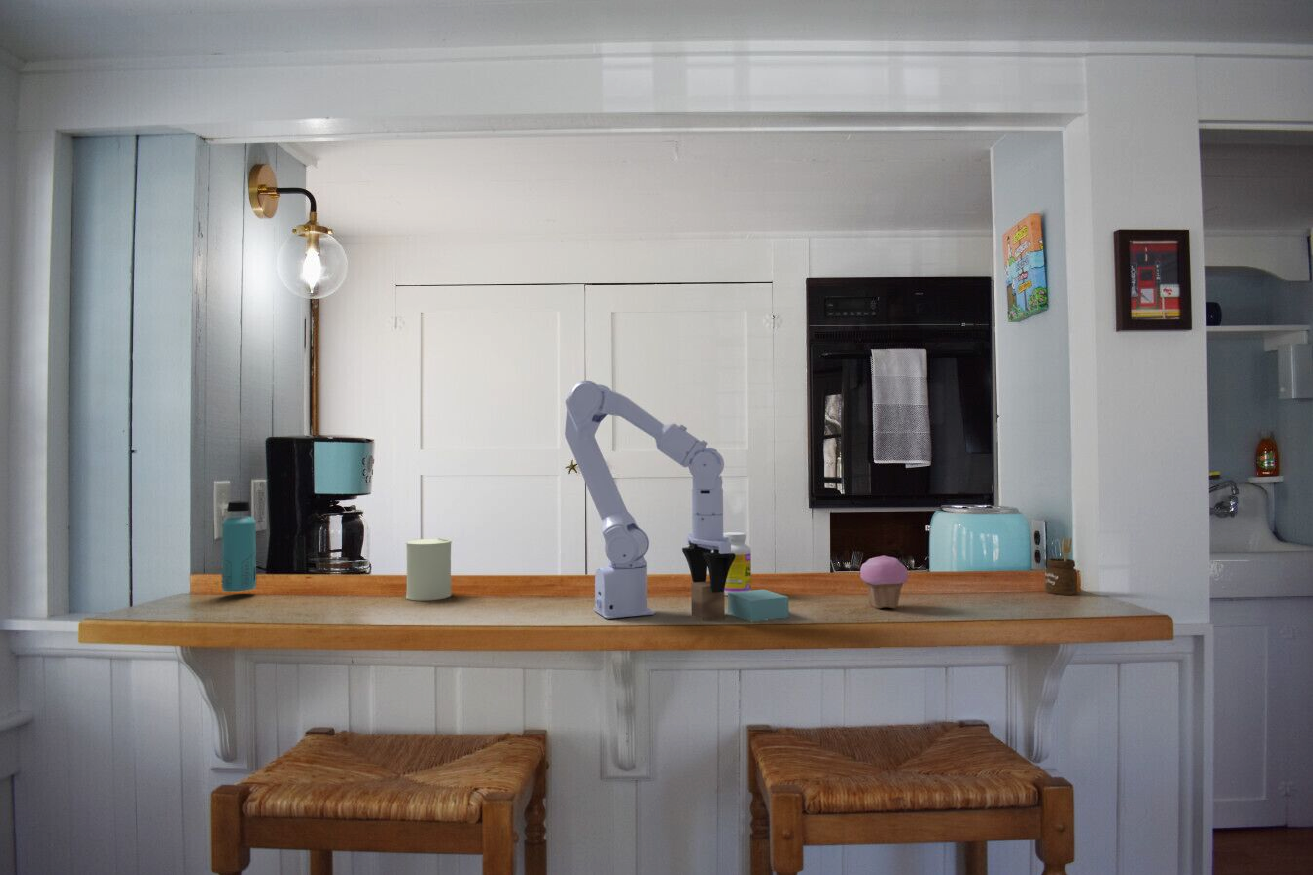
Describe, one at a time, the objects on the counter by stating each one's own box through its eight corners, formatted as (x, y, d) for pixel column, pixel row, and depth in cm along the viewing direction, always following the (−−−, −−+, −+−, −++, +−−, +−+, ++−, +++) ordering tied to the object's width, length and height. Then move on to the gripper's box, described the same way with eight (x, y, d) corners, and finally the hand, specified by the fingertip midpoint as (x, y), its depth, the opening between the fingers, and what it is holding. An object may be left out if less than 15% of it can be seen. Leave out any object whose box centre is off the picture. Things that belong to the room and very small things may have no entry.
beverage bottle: (259, 596, 154) (259, 500, 154) (222, 600, 150) (223, 502, 150) (254, 591, 159) (254, 499, 159) (218, 595, 155) (219, 500, 155)
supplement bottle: (749, 597, 151) (749, 535, 151) (717, 596, 152) (717, 534, 153) (751, 591, 158) (751, 531, 158) (721, 590, 159) (720, 531, 159)
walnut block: (702, 620, 131) (702, 586, 131) (691, 615, 135) (691, 582, 135) (724, 618, 133) (724, 585, 133) (713, 613, 137) (713, 580, 137)
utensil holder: (1069, 590, 158) (1068, 534, 158) (1083, 596, 152) (1082, 538, 152) (1040, 590, 158) (1039, 534, 159) (1053, 595, 152) (1053, 537, 152)
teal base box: (750, 623, 130) (750, 600, 130) (728, 614, 137) (728, 592, 137) (788, 619, 133) (788, 596, 133) (764, 610, 141) (764, 589, 141)
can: (455, 598, 151) (455, 540, 152) (409, 602, 147) (409, 542, 148) (447, 590, 160) (447, 535, 160) (403, 594, 156) (403, 537, 156)
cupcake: (902, 603, 145) (901, 552, 145) (913, 613, 136) (913, 559, 137) (856, 602, 146) (855, 552, 146) (864, 612, 137) (864, 558, 137)
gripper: (746, 516, 129) (747, 593, 129) (709, 510, 143) (710, 580, 142) (710, 517, 127) (711, 596, 126) (676, 511, 140) (677, 583, 140)
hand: (708, 588), depth 134 cm, fingers open, 7 cm apart
